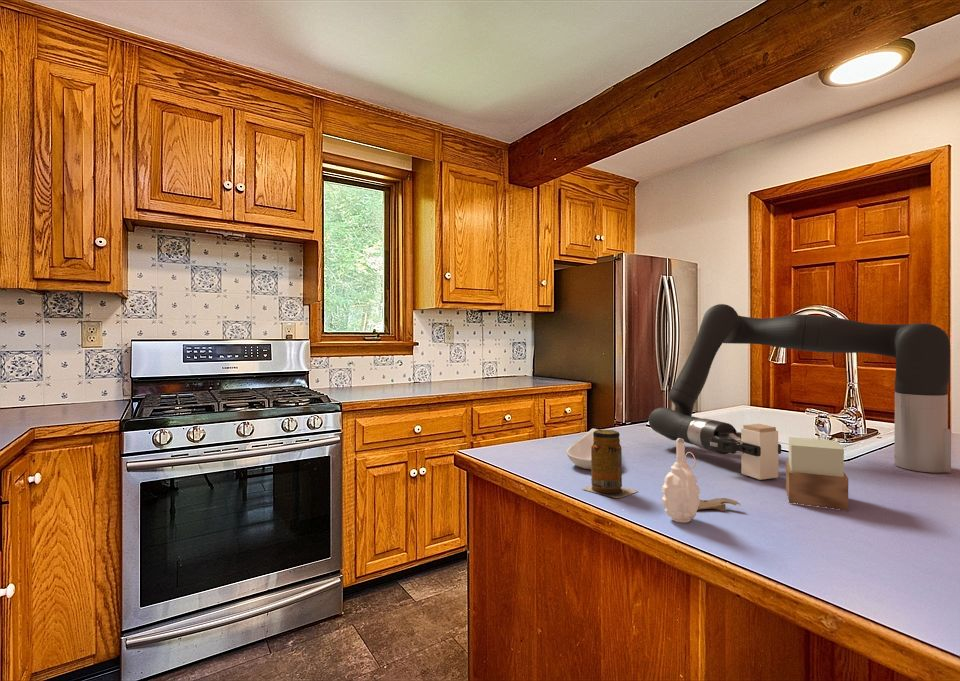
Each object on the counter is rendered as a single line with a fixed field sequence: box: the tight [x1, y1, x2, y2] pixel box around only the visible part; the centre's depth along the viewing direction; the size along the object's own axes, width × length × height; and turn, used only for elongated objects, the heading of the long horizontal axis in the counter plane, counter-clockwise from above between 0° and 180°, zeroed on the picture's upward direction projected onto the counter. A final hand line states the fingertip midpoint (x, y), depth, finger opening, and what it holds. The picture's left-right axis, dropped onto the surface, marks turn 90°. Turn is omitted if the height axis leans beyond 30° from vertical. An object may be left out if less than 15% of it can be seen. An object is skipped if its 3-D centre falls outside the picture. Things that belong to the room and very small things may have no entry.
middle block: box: [788, 436, 845, 477], centre depth 96 cm, size 8×8×5 cm
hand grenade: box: [661, 438, 701, 524], centre depth 86 cm, size 8×6×14 cm
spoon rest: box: [566, 428, 606, 470], centre depth 127 cm, size 24×12×7 cm, turn 160°
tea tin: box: [740, 423, 779, 480], centre depth 110 cm, size 5×5×11 cm
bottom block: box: [785, 460, 849, 511], centre depth 96 cm, size 9×9×6 cm
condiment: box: [582, 429, 638, 499], centre depth 103 cm, size 7×8×12 cm
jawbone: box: [697, 497, 741, 512], centre depth 99 cm, size 9×20×2 cm, turn 16°
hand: (769, 450), depth 108 cm, fingers closed on tea tin, 5 cm apart
